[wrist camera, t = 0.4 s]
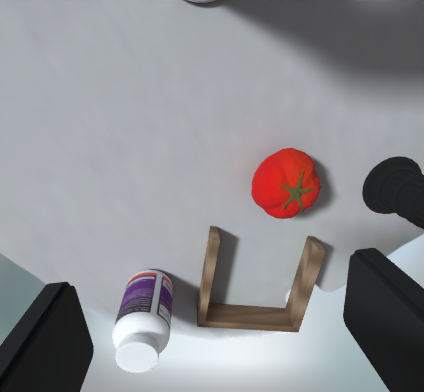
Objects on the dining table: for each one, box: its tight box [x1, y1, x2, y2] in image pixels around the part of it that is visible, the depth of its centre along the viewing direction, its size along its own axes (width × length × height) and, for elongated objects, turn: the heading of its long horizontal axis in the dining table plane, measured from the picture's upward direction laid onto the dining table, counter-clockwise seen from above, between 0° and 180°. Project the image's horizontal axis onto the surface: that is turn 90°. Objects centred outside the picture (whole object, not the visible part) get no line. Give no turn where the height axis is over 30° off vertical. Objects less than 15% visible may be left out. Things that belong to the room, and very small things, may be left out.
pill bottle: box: [112, 270, 173, 373], centre depth 43 cm, size 8×8×14 cm
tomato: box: [252, 148, 320, 219], centre depth 40 cm, size 9×10×8 cm
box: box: [197, 226, 326, 332], centre depth 48 cm, size 17×18×4 cm
